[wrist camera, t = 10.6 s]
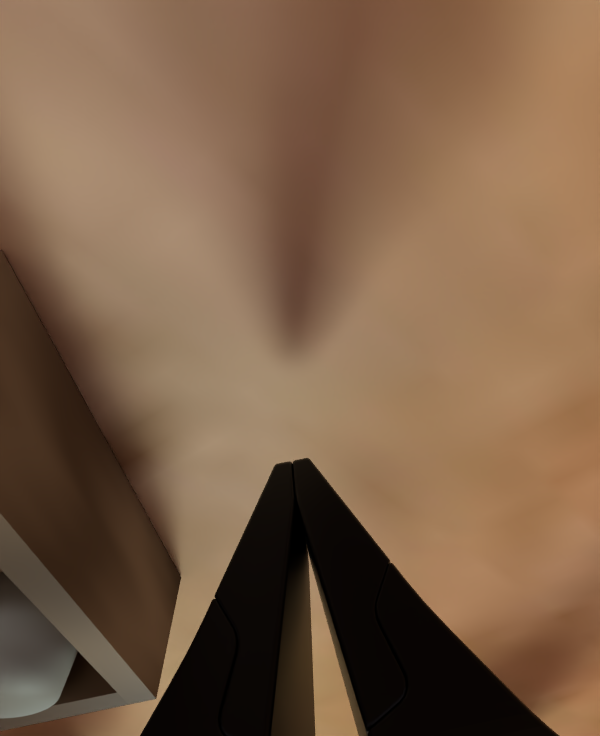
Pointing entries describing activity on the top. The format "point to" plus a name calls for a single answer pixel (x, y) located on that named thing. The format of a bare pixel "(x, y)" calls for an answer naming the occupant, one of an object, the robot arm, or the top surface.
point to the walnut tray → (69, 544)
